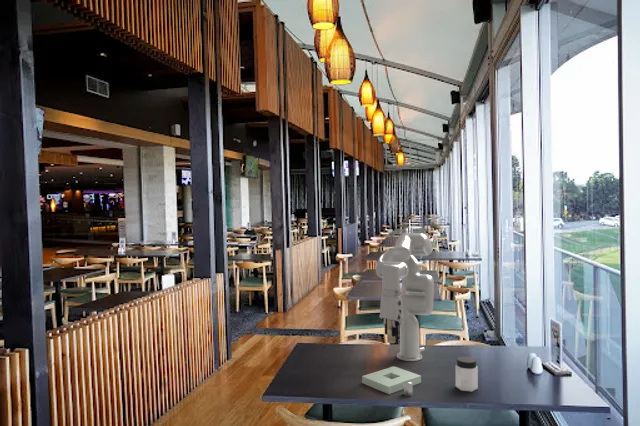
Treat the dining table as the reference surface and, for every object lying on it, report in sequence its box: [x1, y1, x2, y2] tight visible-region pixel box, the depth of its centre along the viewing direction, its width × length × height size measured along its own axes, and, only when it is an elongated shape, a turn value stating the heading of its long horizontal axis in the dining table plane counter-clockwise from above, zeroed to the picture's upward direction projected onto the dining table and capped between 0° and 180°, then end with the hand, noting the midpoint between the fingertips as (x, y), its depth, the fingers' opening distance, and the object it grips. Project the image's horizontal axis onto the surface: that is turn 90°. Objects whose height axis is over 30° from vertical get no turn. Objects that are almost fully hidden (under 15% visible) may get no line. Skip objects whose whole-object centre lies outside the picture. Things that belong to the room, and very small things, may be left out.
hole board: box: [361, 365, 422, 395], centre depth 209 cm, size 20×16×3 cm
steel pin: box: [403, 381, 414, 397], centre depth 196 cm, size 4×4×5 cm
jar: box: [454, 355, 479, 392], centre depth 202 cm, size 9×8×12 cm
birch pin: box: [386, 319, 396, 344], centre depth 208 cm, size 4×4×12 cm
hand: (391, 334), depth 208 cm, fingers closed on birch pin, 3 cm apart
